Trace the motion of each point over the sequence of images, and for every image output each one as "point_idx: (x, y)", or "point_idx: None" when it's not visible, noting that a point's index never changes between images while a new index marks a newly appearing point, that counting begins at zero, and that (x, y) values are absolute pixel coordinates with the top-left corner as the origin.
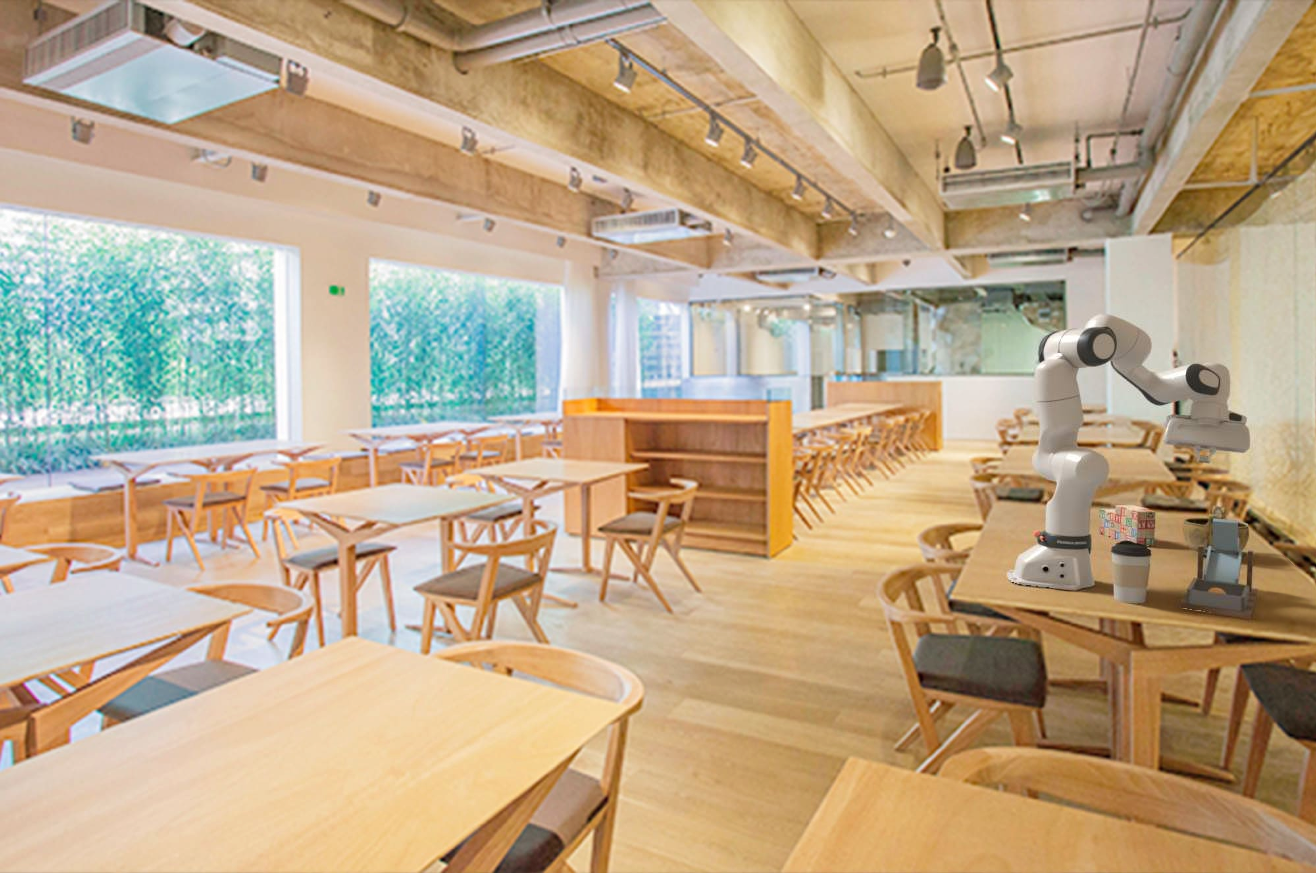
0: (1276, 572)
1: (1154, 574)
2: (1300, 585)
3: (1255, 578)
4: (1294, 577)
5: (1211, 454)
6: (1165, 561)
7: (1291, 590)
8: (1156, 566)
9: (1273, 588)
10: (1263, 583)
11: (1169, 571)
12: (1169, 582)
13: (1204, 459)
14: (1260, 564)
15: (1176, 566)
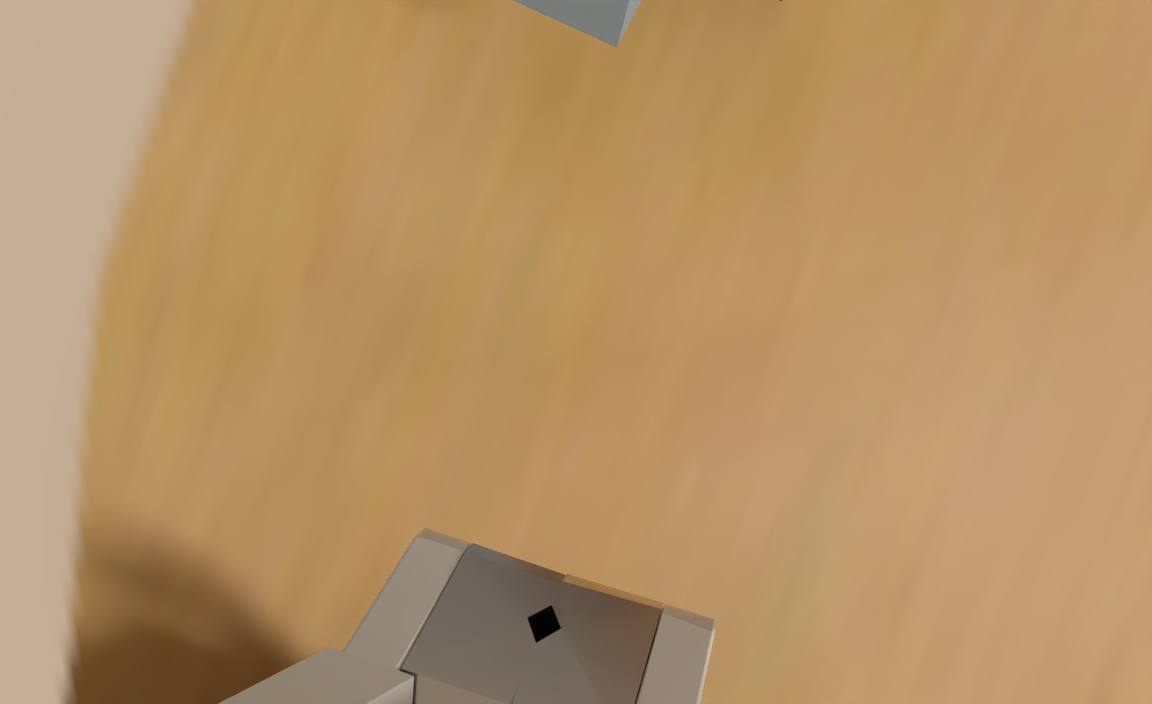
0: (173, 467)
1: (918, 269)
2: (160, 164)
3: (341, 288)
4: (122, 359)
5: (295, 680)
6: (716, 648)
7: (252, 25)
8: (823, 499)
9: (332, 52)
10: (342, 168)
11: (790, 373)
12: (900, 63)
13: (543, 588)
14: (188, 656)
15: (696, 521)
